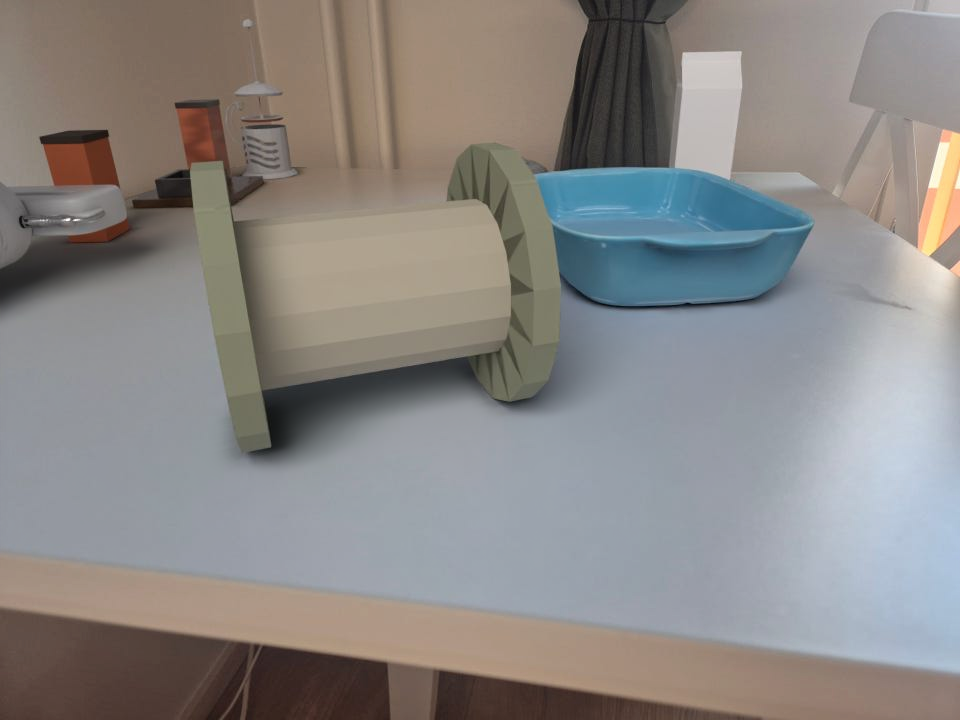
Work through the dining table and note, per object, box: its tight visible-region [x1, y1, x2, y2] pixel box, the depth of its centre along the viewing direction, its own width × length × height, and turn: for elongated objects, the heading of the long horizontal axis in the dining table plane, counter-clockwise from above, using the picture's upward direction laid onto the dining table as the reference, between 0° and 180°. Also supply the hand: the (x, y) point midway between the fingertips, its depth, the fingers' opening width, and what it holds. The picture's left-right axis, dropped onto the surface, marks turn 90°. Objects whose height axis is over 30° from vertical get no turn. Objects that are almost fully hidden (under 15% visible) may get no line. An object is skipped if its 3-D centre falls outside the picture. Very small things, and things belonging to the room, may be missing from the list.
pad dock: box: [131, 98, 265, 209], centre depth 103 cm, size 14×18×13 cm
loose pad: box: [38, 129, 131, 243], centre depth 80 cm, size 5×6×12 cm
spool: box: [190, 142, 562, 454], centre depth 39 cm, size 16×15×15 cm
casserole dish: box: [534, 166, 815, 307], centre depth 67 cm, size 37×22×7 cm, turn 5°
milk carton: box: [668, 50, 743, 180], centre depth 88 cm, size 7×7×19 cm
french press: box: [224, 18, 299, 180], centre depth 117 cm, size 10×12×25 cm
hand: (54, 194), depth 74 cm, fingers open, 8 cm apart
